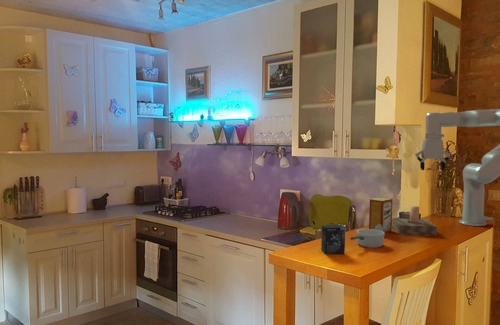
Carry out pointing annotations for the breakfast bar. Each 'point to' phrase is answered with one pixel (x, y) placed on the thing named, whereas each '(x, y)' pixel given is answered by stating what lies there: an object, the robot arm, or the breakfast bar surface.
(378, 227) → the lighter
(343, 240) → the box
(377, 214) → the baking soda box
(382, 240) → the saucepan
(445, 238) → the breakfast bar surface
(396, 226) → the socket block
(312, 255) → the breakfast bar surface
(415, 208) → the peg
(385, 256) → the breakfast bar surface
